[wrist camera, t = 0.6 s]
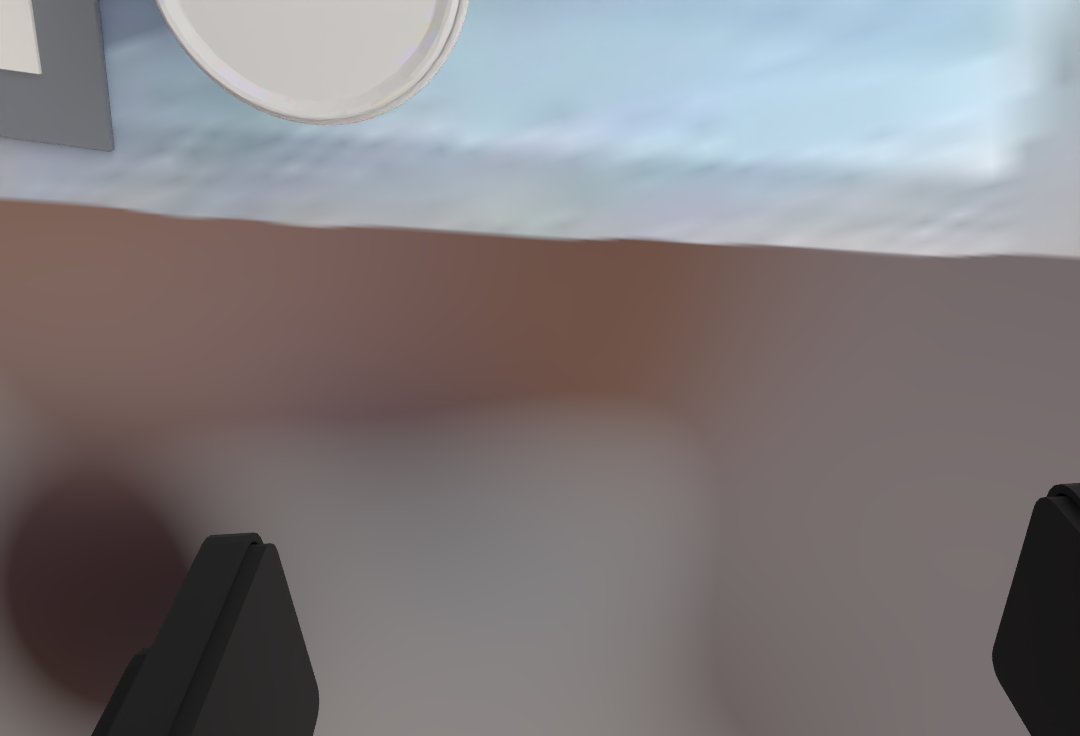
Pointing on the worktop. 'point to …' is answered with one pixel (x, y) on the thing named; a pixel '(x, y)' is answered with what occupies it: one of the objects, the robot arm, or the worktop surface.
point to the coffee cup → (318, 51)
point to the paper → (18, 37)
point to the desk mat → (61, 81)
